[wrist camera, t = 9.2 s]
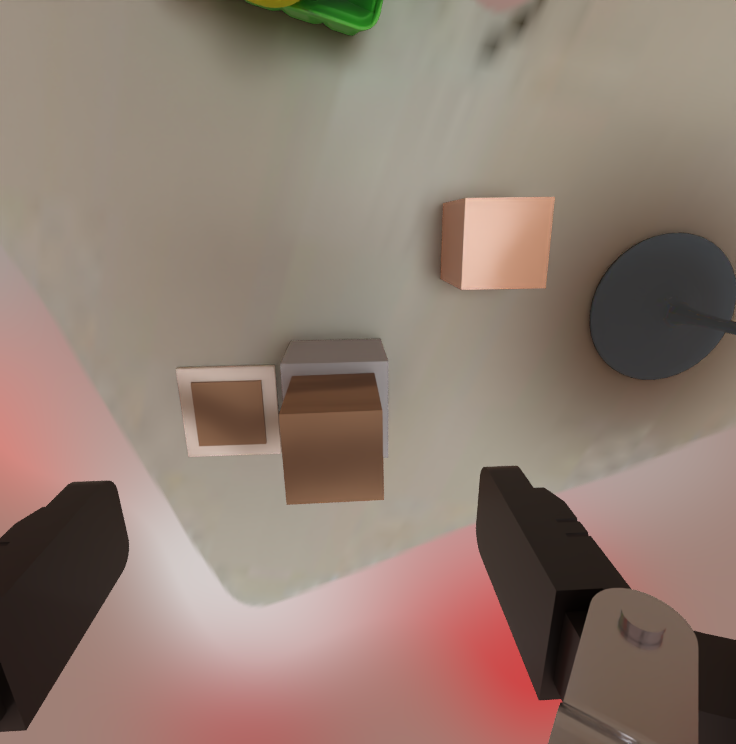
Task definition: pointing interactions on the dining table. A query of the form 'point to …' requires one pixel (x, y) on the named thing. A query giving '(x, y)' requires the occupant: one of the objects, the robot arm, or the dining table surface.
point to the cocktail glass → (663, 306)
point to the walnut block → (332, 439)
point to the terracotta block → (496, 242)
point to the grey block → (339, 365)
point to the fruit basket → (329, 12)
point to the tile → (230, 410)
